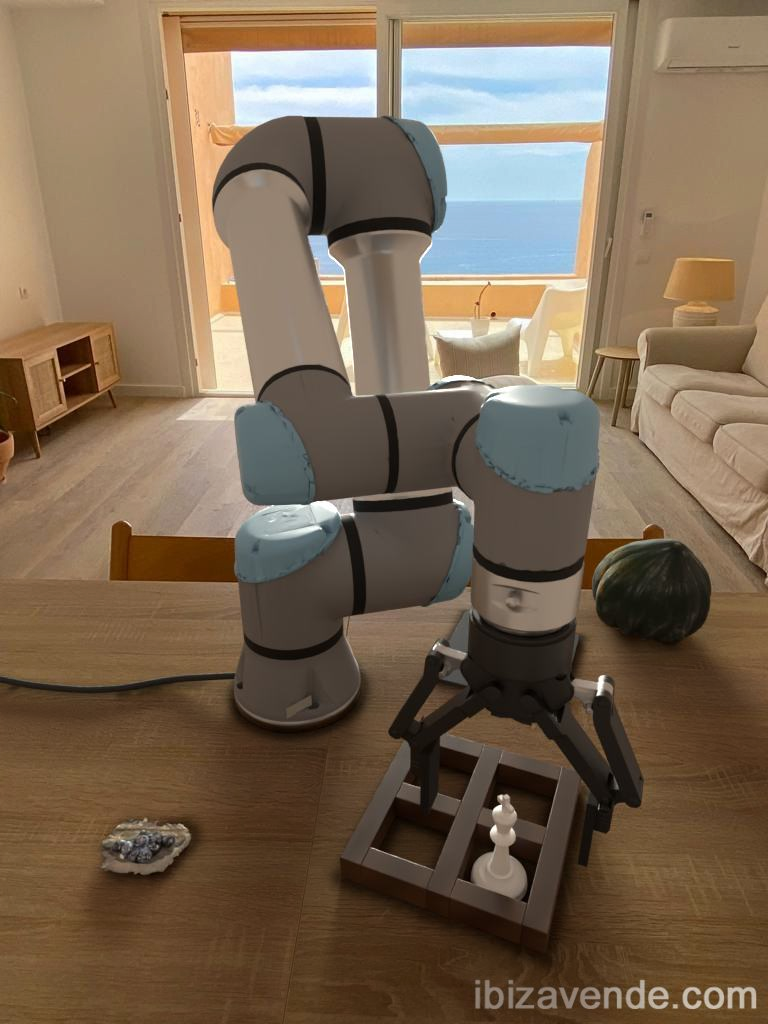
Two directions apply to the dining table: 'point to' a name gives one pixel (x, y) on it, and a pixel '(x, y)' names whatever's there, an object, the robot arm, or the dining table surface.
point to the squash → (653, 590)
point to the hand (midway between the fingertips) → (503, 826)
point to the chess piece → (501, 857)
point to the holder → (469, 840)
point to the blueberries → (143, 846)
